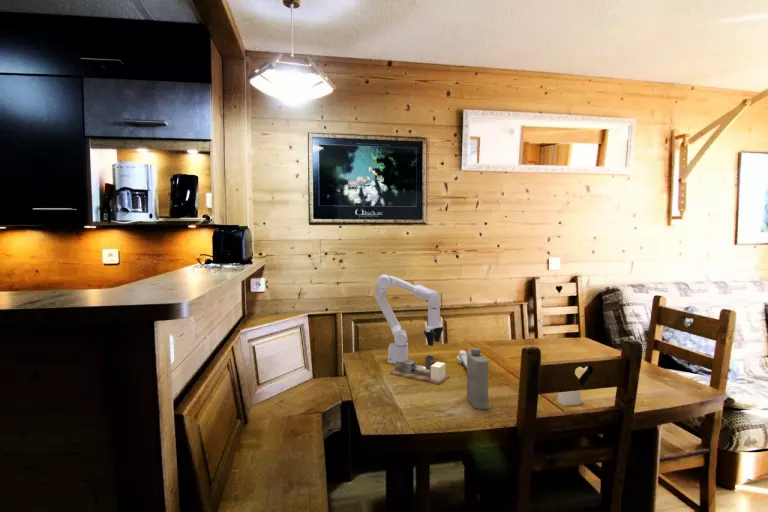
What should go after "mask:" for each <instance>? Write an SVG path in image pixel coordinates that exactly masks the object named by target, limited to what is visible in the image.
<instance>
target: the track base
mask: <svg viewBox="0 0 768 512" xmlns="http://www.w3.org/2000/svg"><path fill="white" fill-rule="evenodd" d="M410 360H411V359H408V360H405V359H398V360H397V361H395V364H394V369H393V370H392V371H390V372H389V373H390V376H391V375H392V376H396V377H402V378H405V379H410V380H416V381H420V382H424V383H431V384H434V385H439V386H440V385H442V383H444V382H445V381H447V380H448V379H449V378H450V375H449V374H446V376H445V377H443V378H442V379H441V380H440V381H438V380H433V379H431V374H426V373H421V372H416V371H412V364H414V365H416V361H415V360H411V361H410Z"/></svg>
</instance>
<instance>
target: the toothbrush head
mask: <svg viewBox="0 0 768 512" xmlns="http://www.w3.org/2000/svg"><path fill="white" fill-rule="evenodd" d="M456 359H457V364H459V365H461V366H465V368H466V369H467V351H466V350H463V349H462V350H459V353H458V355H457V356H456Z"/></svg>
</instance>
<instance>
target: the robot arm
mask: <svg viewBox="0 0 768 512" xmlns="http://www.w3.org/2000/svg"><path fill="white" fill-rule="evenodd" d="M390 287H391V288H395V287H399V288H402V289H404V290H406V291H410V292H412V294H413V296H414V297H417V298H419V299H421V300H424V301H427V303H428V305H427V324H426V325H427V326H426V327H425V330H423V334H424V335H425V338H426V342H427V345H428V346H431V347H433V345H434V342H436V343H439V342H440V339H441V337H442V336H441V335H442V333H443V331H444V327H443V326H442V321H441V319H440V318H441V315H440V314H441V313H440V312H441V309H440V308H441V307H440V303H441V299H442V298H441V295H440V294H439V293H438V291H436V290H434V289H433V288H429V287H426V286H424V285H423V284H416V285H414V284H412V283H409V282H408V281H406V280H403V279H401V278H398V277H395V276H393V275H388V274H386V273H383V274H380V276H379V277H378V279H377V281H376V284H375V290H374V298H375V300H376V302H377V304H378V306H379V308H380V310H381V312H382V314H383V316H384V318H385V320H386V321H387V324H388V325H389V328H390V330H391V332H392V335H393V339H394V342H390V344H389V345H388V349H387V363H389V364H394V365H395V361H397V360H398V359H405V360H410V361H412V360H411V359H409V343H408V334H407V333H408V332H407V330H405V329H404V328H403V327H402V325H401V324H400V322H399V321H398V319H397V317H396V315H395V313H394V311H393V309H392V307H391V304H390V303H389V301H388V299H387V297H386V293H387V290H388V289H390Z"/></svg>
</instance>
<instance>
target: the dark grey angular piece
mask: <svg viewBox="0 0 768 512" xmlns="http://www.w3.org/2000/svg"><path fill="white" fill-rule="evenodd" d="M434 357H435V356H433V355H426V356H425V361H424V362H425V364H424V365H425V366H424V365H418V364H415V365H414V364H412V371H416V372H421V373H426V374H431V366H432V365H433V364H434V362H435V361H434Z"/></svg>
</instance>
